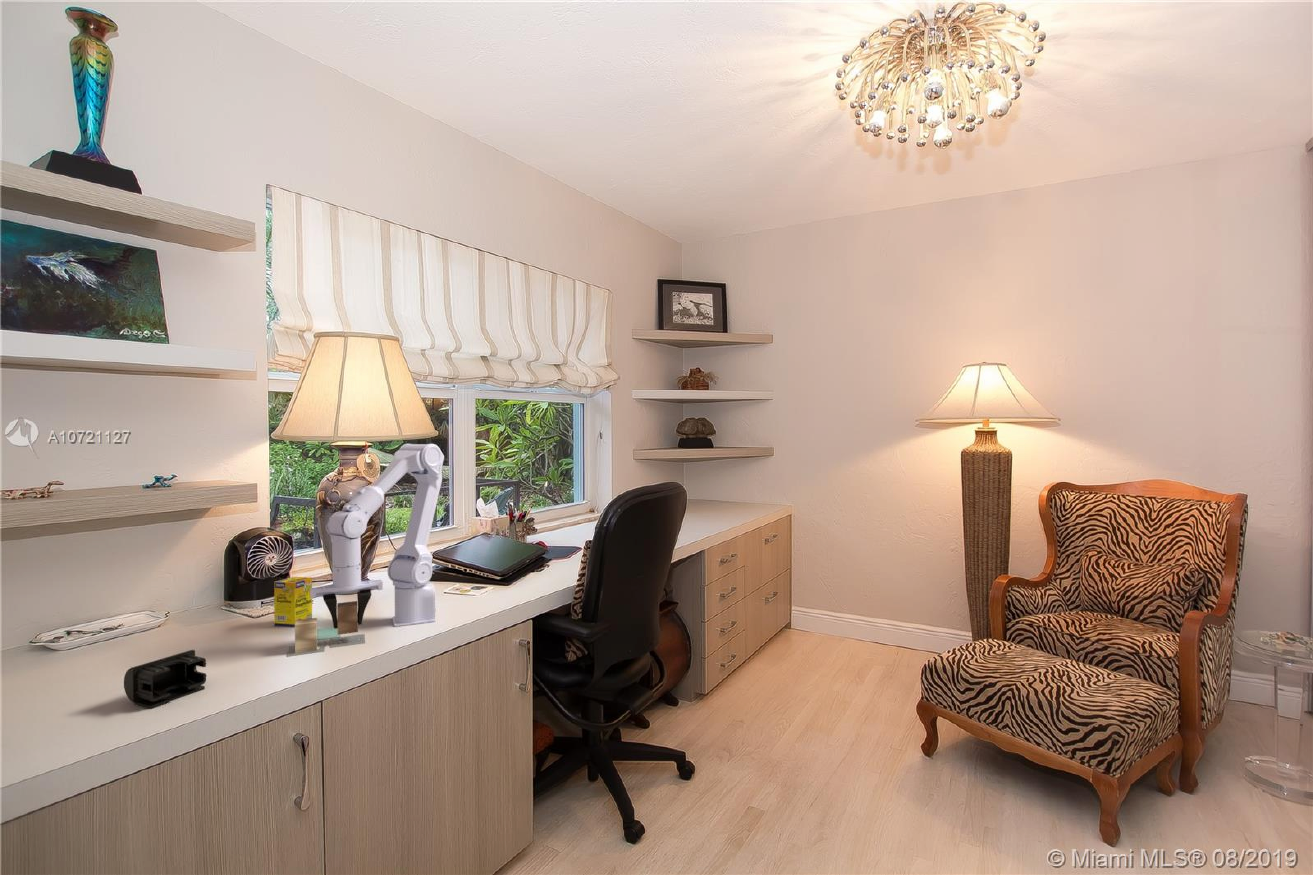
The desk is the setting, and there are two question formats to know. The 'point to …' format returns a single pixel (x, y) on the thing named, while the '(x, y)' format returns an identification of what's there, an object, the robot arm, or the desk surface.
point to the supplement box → (292, 600)
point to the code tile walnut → (347, 640)
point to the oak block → (306, 635)
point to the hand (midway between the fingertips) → (347, 625)
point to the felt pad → (327, 633)
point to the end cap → (164, 680)
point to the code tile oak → (319, 649)
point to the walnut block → (347, 617)
